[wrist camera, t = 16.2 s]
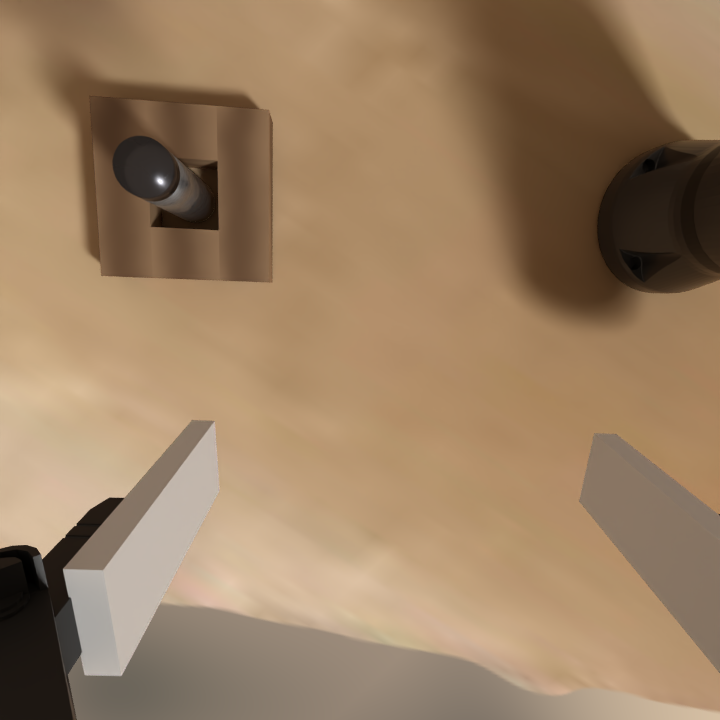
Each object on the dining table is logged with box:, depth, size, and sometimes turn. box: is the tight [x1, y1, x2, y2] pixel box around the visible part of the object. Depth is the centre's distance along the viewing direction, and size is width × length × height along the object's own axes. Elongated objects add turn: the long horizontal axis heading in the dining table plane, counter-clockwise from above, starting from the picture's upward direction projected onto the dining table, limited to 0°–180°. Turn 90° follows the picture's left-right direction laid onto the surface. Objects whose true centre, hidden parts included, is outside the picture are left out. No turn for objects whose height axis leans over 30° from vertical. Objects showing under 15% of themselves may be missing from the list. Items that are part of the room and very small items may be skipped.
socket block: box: [90, 96, 273, 282], centre depth 39 cm, size 15×15×3 cm
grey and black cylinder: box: [112, 136, 215, 223], centre depth 35 cm, size 4×4×12 cm
